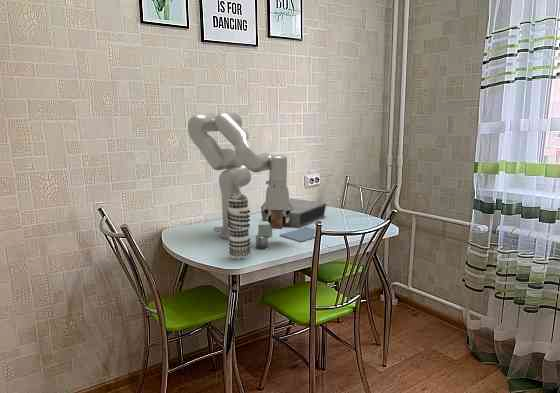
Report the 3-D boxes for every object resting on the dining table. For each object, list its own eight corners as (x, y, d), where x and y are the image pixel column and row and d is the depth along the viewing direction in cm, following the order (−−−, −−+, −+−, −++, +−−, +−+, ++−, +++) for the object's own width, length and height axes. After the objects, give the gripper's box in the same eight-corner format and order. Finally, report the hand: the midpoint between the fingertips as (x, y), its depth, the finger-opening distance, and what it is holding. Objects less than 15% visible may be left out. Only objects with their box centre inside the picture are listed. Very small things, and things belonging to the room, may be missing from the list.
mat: (300, 242, 184) (300, 241, 184) (279, 235, 195) (279, 234, 194) (327, 234, 196) (327, 232, 196) (306, 228, 206) (306, 227, 206)
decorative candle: (251, 251, 174) (250, 192, 169) (251, 259, 165) (249, 197, 160) (229, 251, 174) (227, 193, 169) (227, 259, 165) (225, 197, 160)
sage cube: (258, 237, 194) (258, 224, 192) (259, 233, 199) (259, 221, 198) (271, 237, 193) (271, 224, 192) (272, 233, 199) (272, 221, 198)
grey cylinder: (255, 249, 176) (255, 238, 175) (256, 245, 181) (256, 234, 180) (267, 249, 176) (267, 238, 175) (268, 245, 181) (268, 234, 180)
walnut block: (270, 228, 182) (271, 211, 180) (271, 225, 187) (271, 208, 185) (282, 229, 182) (282, 211, 180) (282, 225, 187) (283, 208, 185)
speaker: (296, 230, 205) (326, 216, 229) (296, 214, 203) (326, 202, 227) (258, 223, 219) (290, 211, 242) (258, 208, 217) (290, 197, 241)
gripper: (257, 184, 177) (256, 226, 181) (297, 186, 176) (296, 227, 180) (258, 181, 184) (258, 221, 188) (297, 182, 183) (296, 222, 187)
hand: (276, 223), depth 184 cm, fingers closed on walnut block, 5 cm apart
